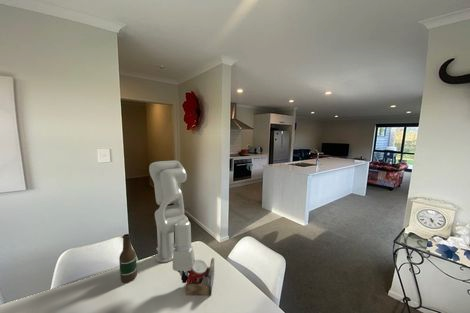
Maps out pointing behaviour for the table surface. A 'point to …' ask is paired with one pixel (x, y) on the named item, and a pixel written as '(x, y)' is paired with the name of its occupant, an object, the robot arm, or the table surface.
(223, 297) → the table surface
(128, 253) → the beer bottle
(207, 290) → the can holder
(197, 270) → the canned food
